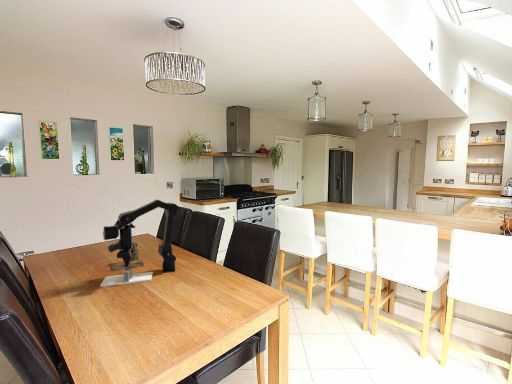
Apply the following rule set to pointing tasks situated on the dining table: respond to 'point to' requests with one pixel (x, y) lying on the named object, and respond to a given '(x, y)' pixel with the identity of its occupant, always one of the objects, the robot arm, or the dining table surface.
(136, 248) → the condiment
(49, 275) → the dining table surface
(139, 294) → the dining table surface
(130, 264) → the walnut bar
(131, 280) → the balance stand
